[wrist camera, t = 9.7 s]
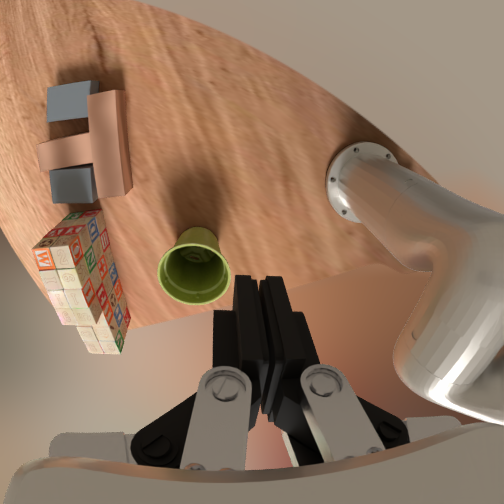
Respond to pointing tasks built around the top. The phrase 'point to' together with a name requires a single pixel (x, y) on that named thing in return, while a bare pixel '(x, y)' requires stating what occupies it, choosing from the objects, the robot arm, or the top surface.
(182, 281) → the plant pot
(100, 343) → the stack of blocks
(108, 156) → the t block
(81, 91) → the t dock
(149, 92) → the top surface
